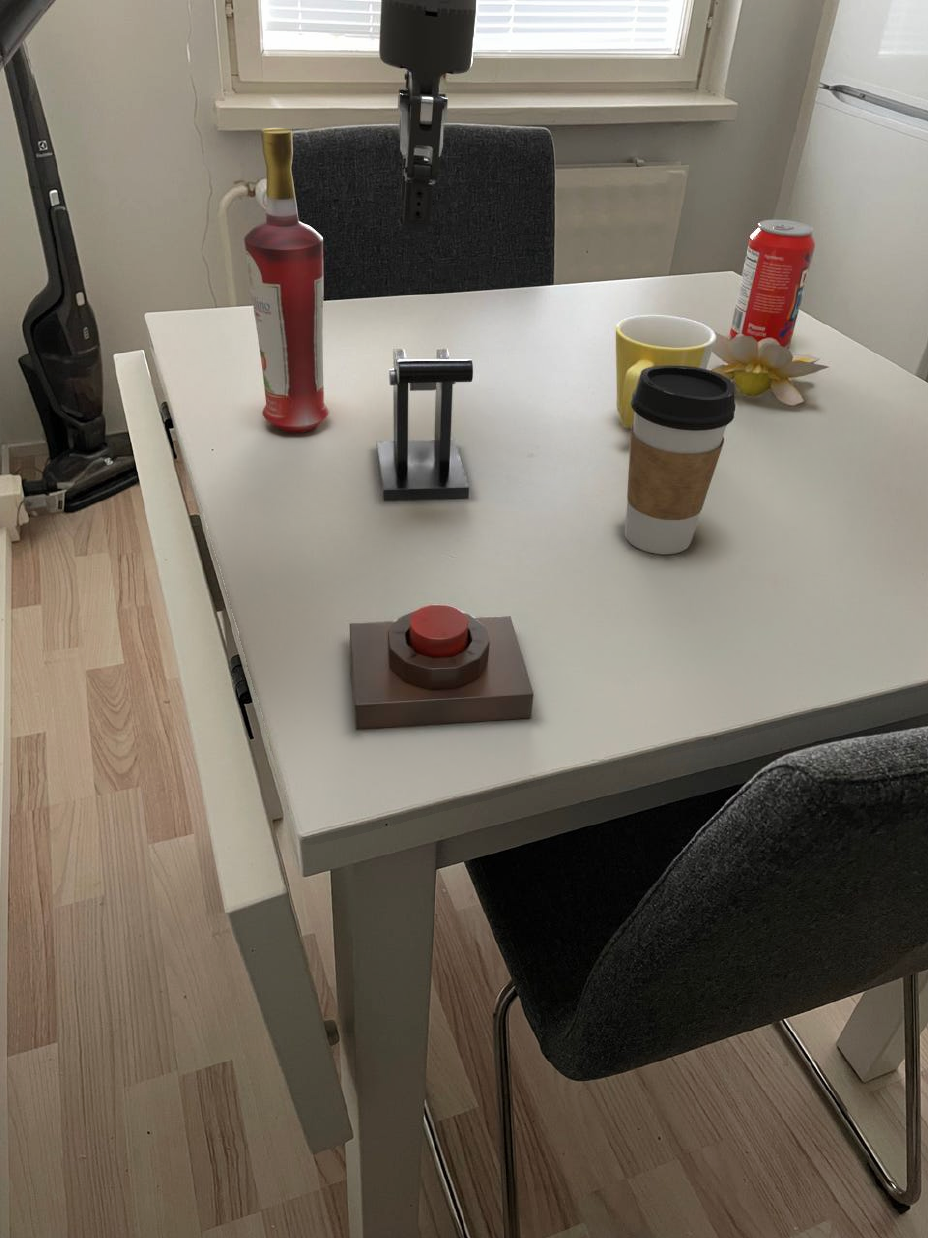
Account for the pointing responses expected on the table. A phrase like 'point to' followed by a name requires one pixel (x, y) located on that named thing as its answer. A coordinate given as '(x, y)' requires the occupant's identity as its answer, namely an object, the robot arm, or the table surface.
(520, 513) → the table surface
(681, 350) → the mug
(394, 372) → the lever stand
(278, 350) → the liquor
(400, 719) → the button block
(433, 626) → the button
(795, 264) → the soda can
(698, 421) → the coffee cup
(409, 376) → the tap lever
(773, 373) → the decorative flower
